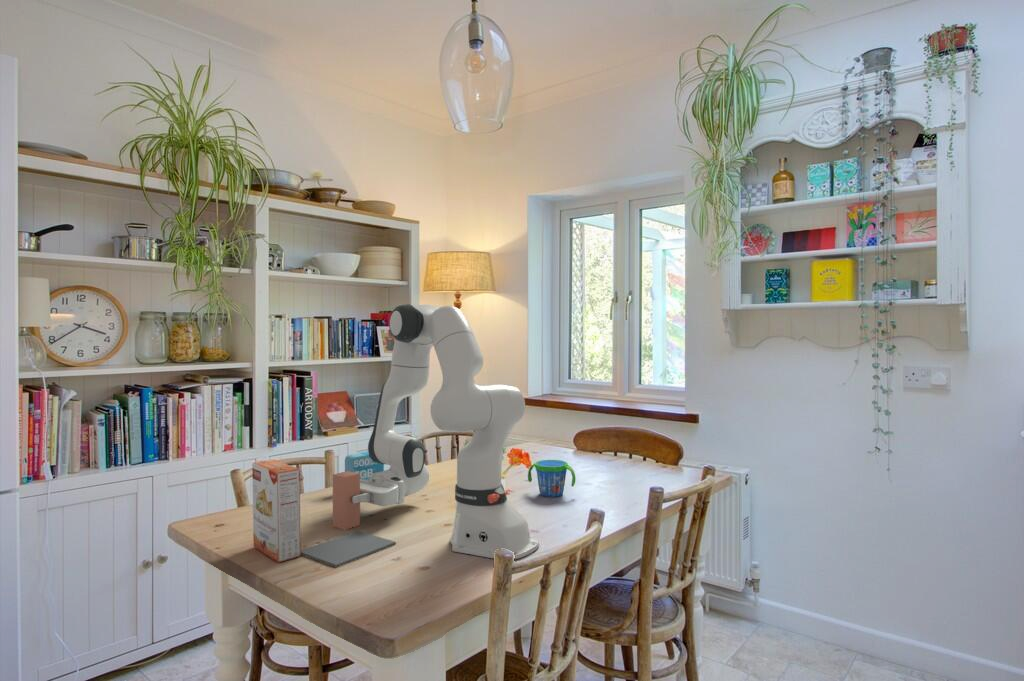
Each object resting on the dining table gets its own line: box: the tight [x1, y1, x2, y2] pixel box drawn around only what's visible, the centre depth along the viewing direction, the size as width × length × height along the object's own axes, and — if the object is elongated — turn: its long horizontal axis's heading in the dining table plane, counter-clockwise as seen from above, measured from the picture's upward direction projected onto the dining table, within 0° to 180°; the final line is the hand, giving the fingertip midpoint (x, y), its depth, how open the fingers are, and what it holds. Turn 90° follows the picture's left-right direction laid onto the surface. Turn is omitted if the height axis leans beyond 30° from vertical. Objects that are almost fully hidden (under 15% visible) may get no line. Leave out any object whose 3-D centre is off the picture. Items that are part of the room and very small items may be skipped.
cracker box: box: [251, 459, 302, 563], centre depth 146 cm, size 14×6×21 cm, turn 45°
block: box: [332, 471, 361, 531], centre depth 165 cm, size 5×5×14 cm
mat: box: [301, 530, 397, 568], centre depth 148 cm, size 14×18×1 cm
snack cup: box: [527, 459, 577, 498], centre depth 197 cm, size 16×10×10 cm
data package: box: [344, 451, 385, 481], centre depth 201 cm, size 12×4×12 cm, turn 134°
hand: (343, 497), depth 164 cm, fingers closed on block, 5 cm apart
